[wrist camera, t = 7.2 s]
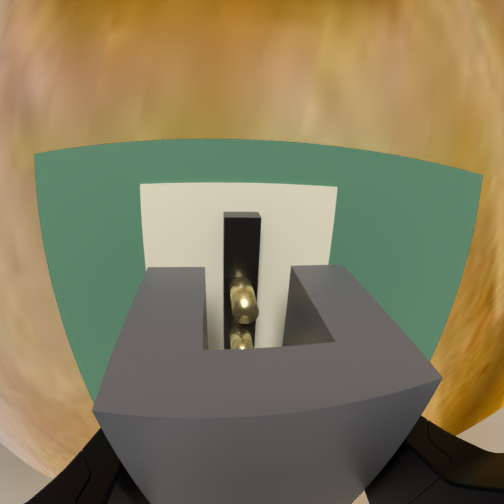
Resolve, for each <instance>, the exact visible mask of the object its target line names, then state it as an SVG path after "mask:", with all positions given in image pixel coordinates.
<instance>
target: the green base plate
mask: <svg viewBox="0 0 504 504" xmlns="http://www.w3.org/2000/svg"><path fill="white" fill-rule="evenodd" d="M34 160H35V179H36V191H37V201H38V210H39V218H40V225H41V232H42V238H43V244H44V249H45V255H46V260H47V264H48V269H49V274H50V278H51V282H52V286H53V290H54V294H55V298H56V302H57V305H58V309H59V312H60V315H61V319H62V322H63V325H64V328H65V331H66V334H67V337H68V340H69V343H70V346H71V349H72V352H73V354H74V357H75V360H76V362H77V365H78V367H79V370H80V372H81V375H82V377H83V380H84V382H85V384H86V387H87V389H88V391H89V394H90V396H91V398H92V400H93V402H94V403H95V400H96V397H97V394H98V391H99V388H100V385H101V382H102V379H103V376H104V374H105V371H106V368H107V365H108V362H109V360H110V357H111V354H112V352H113V349H114V347H115V344H116V341H117V339H118V336H119V334H120V331H121V329H122V326H123V324H124V321H125V319H126V316H127V314H128V312H129V309H130V307H131V305H132V302H133V300H134V298H135V295H136V293H137V291H138V288H139V286H140V284H141V282H142V279H143V277H144V275H145V273H146V271H147V269H148V267H205V282H206V310H207V331H208V350H224V347H223V212H258V213H259V215H260V216H261V235H260V254H259V273H258V291H257V305H258V308H259V316H258V318H257V319H256V327H255V344H254V348H269V347H282V342H283V334H284V326H285V317H286V308H287V299H288V290H289V280H290V271H291V266H299V265H343V266H344V267H345V268H346V269H347V270H348V271H349V272H350V273H351V274H352V275H353V276H354V277H355V278H356V280H357V281H358V282H359V283H360V284H361V285H362V286H363V287H364V288H365V289H366V290H367V291H368V292H369V293H370V295H371V296H372V297H373V298H374V299H375V300H376V301H377V302H378V303H379V304H380V305H381V307H382V308H383V309H384V310H385V311H386V312H387V313H388V314H389V315H390V317H391V318H392V319H393V320H394V321H395V322H396V323H397V324H398V326H399V327H400V328H401V329H402V330H403V331H404V332H405V334H406V335H407V336H408V337H409V338H410V339H411V341H412V342H413V343H414V344H415V345H416V346H417V348H418V349H419V350H420V351H421V352H422V353H423V355H424V356H425V357H426V358H427V359H428V361H429V362H430V360H431V358H432V356H433V353H434V351H435V349H436V346H437V344H438V342H439V339H440V337H441V335H442V332H443V330H444V327H445V324H446V322H447V319H448V317H449V314H450V311H451V308H452V305H453V303H454V300H455V297H456V294H457V291H458V287H459V284H460V281H461V278H462V274H463V271H464V267H465V264H466V260H467V256H468V252H469V248H470V244H471V240H472V236H473V231H474V226H475V221H476V216H477V211H478V205H479V199H480V192H481V185H482V177H483V175H480V174H476V173H473V172H469V171H465V170H461V169H457V168H453V167H449V166H445V165H441V164H436V163H432V162H427V161H423V160H418V159H413V158H408V157H402V156H397V155H391V154H385V153H379V152H373V151H366V150H359V149H352V148H344V147H336V146H327V145H318V144H308V143H296V142H282V141H266V140H241V139H176V140H152V141H136V142H123V143H112V144H102V145H93V146H84V147H77V148H69V149H62V150H56V151H50V152H44V153H38V154H34Z"/></svg>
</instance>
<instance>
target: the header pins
mask: <svg viewBox="0 0 504 504" xmlns="http://www.w3.org/2000/svg"><path fill="white" fill-rule="evenodd" d="M260 235H261V216H260V215H259V213H258V212H223V347H224V349H251V348H254V344H255V327H256V319H257V318H258V316H259V308H258V305H257V291H258V273H259V254H260Z"/></svg>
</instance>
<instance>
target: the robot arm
mask: <svg viewBox="0 0 504 504" xmlns="http://www.w3.org/2000/svg"><path fill="white" fill-rule="evenodd" d="M82 451H83V452H82ZM82 451H80V452H79V453H78V455H77V456H76V457H75V458H74V459H73V460H72V461H71V462H70V464H69V465H68V466H67V467H66V468H65V469H64V470H63V471H62V472H61V473H60V474H59V475H58V476H57V477H55V478H54V479H53V480H52V481H51V482H50V483H49V484H48V485H46V486H45V487H44V488H43V489H42V490H41V491H40V492H38V493H37V494H36V495H35V496H34V497H33V498H31V499H30V500H29V501H28V502H26V503H24V504H150V502H149V501H148V500H147V498H146V497H145V496H144V494H143V493H142V492H141V490H140V489H139V487H138V486H137V485H136V483H135V482H134V480H133V479H132V477H131V476H130V475H129V473H128V472H127V470H126V468H125V467H124V465H123V464H122V462H121V461H120V459H119V458H118V456H117V454H116V453H115V451H114V449H113V448H112V446H111V444H110V443H109V441H108V439H107V437H106V436H105V434H104V432H103V430H102V428H100V429H99V430H98V431H97V433H96V434H95V435H94V436H93V437H92V438H91V440H90V441H89V442H88V443H87V444H86V445H85V447H84V448H83V449H82ZM365 493H366V495H367V498H368V501H369V504H504V453H493V452H489V451H486V450H483V449H481V448H479V447H477V446H475V445H473V444H470V443H468V442H466V441H464V440H462V439H460V438H458V437H456V436H454V435H452V434H450V433H448V432H447V431H445V430H443V429H442V428H440V427H438V426H437V425H435V424H434V423H432V422H431V421H427V419H426V418H424V417H423V416H420V417H419V419H418V420H417V422H416V424H415V425H414V427H413V428H412V430H411V431H410V432H409V434H408V435H407V437H406V438H405V440H404V441H403V442H402V444H401V445H400V447H399V448H398V449H397V451H396V452H395V453H394V455H393V456H392V457H391V459H390V460H389V461H388V462H387V464H386V465H385V466H384V467H383V469H382V470H381V471H380V472H379V474H378V475H377V476H376V477H375V478H374V479H373V481H372V482H371V483H370V484H369V485H368V486H367V487H366V489H365Z"/></svg>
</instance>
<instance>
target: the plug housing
mask: <svg viewBox="0 0 504 504" xmlns="http://www.w3.org/2000/svg"><path fill="white" fill-rule="evenodd" d="M441 380H442V376H441V375H440V374H439V373H438V371H437V370H436V369H435V368H434V367H433V365H432V364H431V363H430V362H429V361H428V359H427V358H426V357H425V356H424V355H423V353H422V352H421V351H420V350H419V349H418V348H417V346H416V345H415V344H414V343H413V342H412V341H411V339H410V338H409V337H408V336H407V335H406V334H405V332H404V331H403V330H402V329H401V328H400V327H399V326H398V324H397V323H396V322H395V321H394V320H393V319H392V318H391V317H390V315H389V314H388V313H387V312H386V311H385V310H384V309H383V308H382V307H381V305H380V304H379V303H378V302H377V301H376V300H375V299H374V298H373V297H372V296H371V295H370V293H369V292H368V291H367V290H366V289H365V288H364V287H363V286H362V285H361V284H360V283H359V282H358V281H357V280H356V278H355V277H354V276H353V275H352V274H351V273H350V272H349V271H348V270H347V269H346V268H345V267H344V266H343V265H299V266H291V271H290V280H289V290H288V299H287V308H286V317H285V326H284V334H283V342H282V347H269V348H251V349H224V350H208V331H207V310H206V282H205V267H148V269H147V271H146V273H145V275H144V277H143V279H142V282H141V284H140V286H139V288H138V291H137V293H136V295H135V298H134V300H133V302H132V305H131V307H130V309H129V312H128V314H127V316H126V319H125V321H124V324H123V326H122V329H121V331H120V334H119V336H118V339H117V341H116V344H115V347H114V349H113V352H112V354H111V357H110V360H109V362H108V365H107V368H106V371H105V374H104V376H103V379H102V382H101V385H100V388H99V391H98V394H97V397H96V400H95V403H94V406H93V409H92V411H93V413H94V415H95V417H96V419H97V421H98V423H99V425H100V427H101V428H102V430H103V432H104V434H105V436H106V437H107V439H108V441H109V443H110V444H111V446H112V448H113V449H114V451H115V453H116V454H117V456H118V458H119V459H120V461H121V462H122V464H123V465H124V467H125V468H126V470H127V472H128V473H129V475H130V476H131V477H132V479H133V480H134V482H135V483H136V485H137V486H138V487H139V489H140V490H141V492H142V493H143V494H144V496H145V497H146V498H147V500H148V501H149V502H150V504H352V503H353V501H354V500H355V499H356V498H357V497H358V496H359V495H360V494H361V493H362V492H363V491H364V490H365V489H366V487H367V486H368V485H369V484H370V483H371V482H372V481H373V479H374V478H375V477H376V476H377V475H378V474H379V472H380V471H381V470H382V469H383V467H384V466H385V465H386V464H387V462H388V461H389V460H390V459H391V457H392V456H393V455H394V453H395V452H396V451H397V449H398V448H399V447H400V445H401V444H402V442H403V441H404V440H405V438H406V437H407V435H408V434H409V432H410V431H411V430H412V428H413V427H414V425H415V424H416V422H417V420H418V419H419V417H420V416H421V414H422V413H423V411H424V409H425V408H426V406H427V405H428V403H429V401H430V399H431V398H432V396H433V394H434V393H435V391H436V389H437V387H438V385H439V384H440V382H441Z"/></svg>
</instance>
